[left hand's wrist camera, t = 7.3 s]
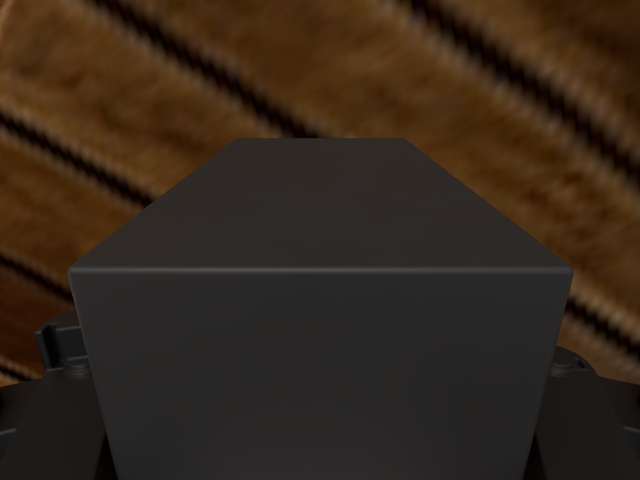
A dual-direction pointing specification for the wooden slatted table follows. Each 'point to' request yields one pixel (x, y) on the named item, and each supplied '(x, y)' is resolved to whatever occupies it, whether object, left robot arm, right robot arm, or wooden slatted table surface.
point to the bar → (320, 321)
